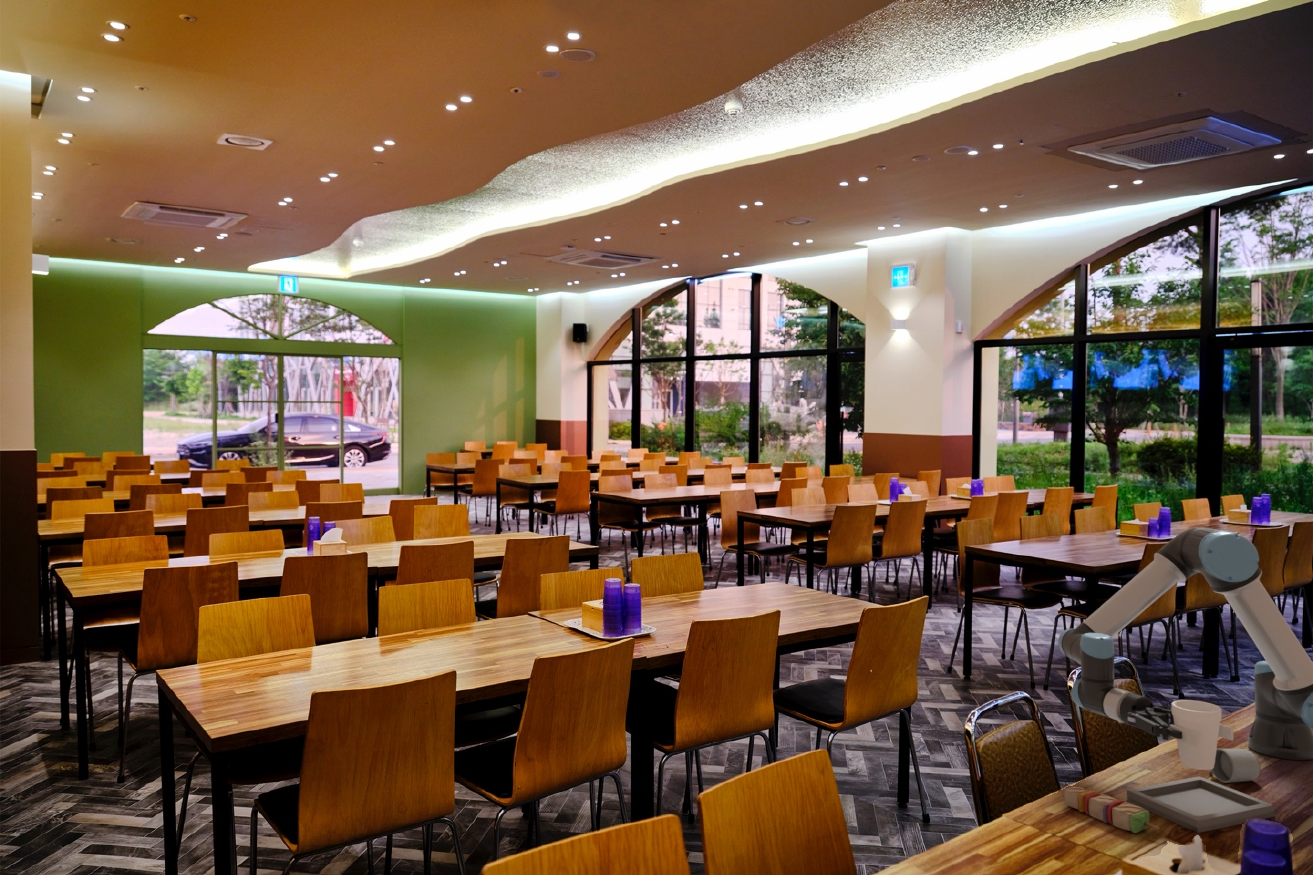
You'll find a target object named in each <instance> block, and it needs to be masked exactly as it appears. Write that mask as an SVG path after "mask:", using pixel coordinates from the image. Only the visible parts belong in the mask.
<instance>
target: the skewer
mask: <svg viewBox="0 0 1313 875" xmlns="http://www.w3.org/2000/svg"><path fill="white" fill-rule="evenodd" d="M1063 791H1064V793H1063V794H1064V798H1063V799H1064V804H1065V805H1066V806H1068V807H1071V808H1073V809H1075V810H1078V811H1079V812H1080V813H1085V814H1086V815H1089V816H1091V817H1092V818H1095V819H1097V820H1099V821H1101V822H1102V823H1106V824H1108V823H1109V824H1110V825H1112V826H1114V827H1116V828H1118V829H1121V830H1124V831H1130V832H1131V833H1133V834H1138V833H1139V832H1141V831H1143V830H1145V829H1147V828H1150V829H1153V830H1156V831H1159V830H1160V828H1161V827H1159V825H1158V826H1157V825H1155V824H1152V823H1150V822H1151V821H1150V811H1148V810H1146V809H1144V808H1141V807H1139V806H1137V805H1135V804H1133V803H1130V802H1128V801H1127V800H1124V799H1116V797H1112V796H1110V795H1108V794H1106V793H1102V794H1101V792H1097V791H1095V790H1094V789H1093V790H1088V789H1086V788H1083V787H1081V786H1078V785H1074V786H1071V787H1066V788H1065V789H1064V790H1063Z"/></svg>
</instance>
